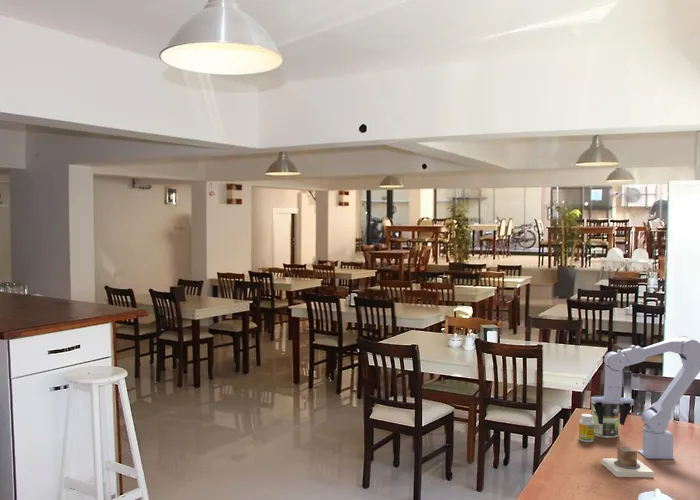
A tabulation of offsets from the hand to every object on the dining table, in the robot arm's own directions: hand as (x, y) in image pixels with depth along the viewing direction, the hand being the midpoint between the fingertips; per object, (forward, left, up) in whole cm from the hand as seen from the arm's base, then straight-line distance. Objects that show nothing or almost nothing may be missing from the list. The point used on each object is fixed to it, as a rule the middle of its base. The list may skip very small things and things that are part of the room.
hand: (611, 423), depth 232 cm
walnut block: (+1, +17, -8) cm, 19 cm away
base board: (+1, +17, -10) cm, 20 cm away
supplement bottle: (+3, -14, -11) cm, 18 cm away
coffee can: (-7, -22, -11) cm, 25 cm away
